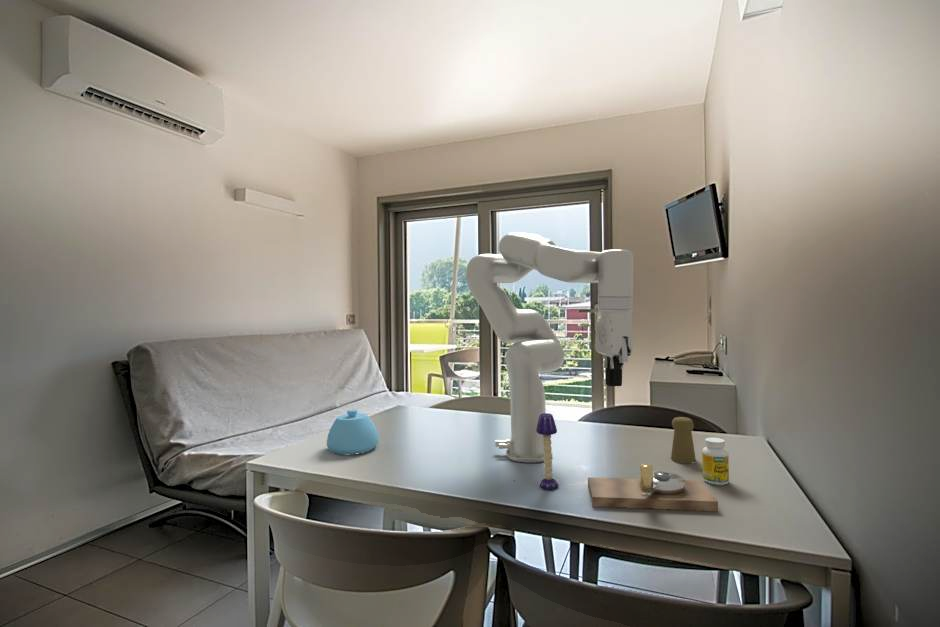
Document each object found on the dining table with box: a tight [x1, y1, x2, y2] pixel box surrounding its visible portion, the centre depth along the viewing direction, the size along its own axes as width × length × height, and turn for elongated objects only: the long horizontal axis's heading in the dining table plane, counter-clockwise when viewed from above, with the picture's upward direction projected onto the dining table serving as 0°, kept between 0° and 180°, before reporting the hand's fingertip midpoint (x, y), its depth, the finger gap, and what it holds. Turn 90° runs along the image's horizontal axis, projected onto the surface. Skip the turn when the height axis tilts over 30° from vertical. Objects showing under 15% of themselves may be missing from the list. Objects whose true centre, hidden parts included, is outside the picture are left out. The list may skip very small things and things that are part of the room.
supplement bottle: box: [701, 437, 730, 486], centre depth 110 cm, size 5×5×10 cm
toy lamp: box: [536, 412, 559, 491], centre depth 109 cm, size 5×5×17 cm
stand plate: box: [587, 476, 719, 512], centre depth 101 cm, size 24×11×2 cm, turn 81°
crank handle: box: [638, 463, 686, 495], centre depth 100 cm, size 13×9×6 cm
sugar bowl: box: [326, 409, 380, 455], centre depth 142 cm, size 15×15×12 cm
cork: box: [670, 416, 697, 464], centre depth 125 cm, size 6×6×11 cm
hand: (613, 385), depth 109 cm, fingers closed
